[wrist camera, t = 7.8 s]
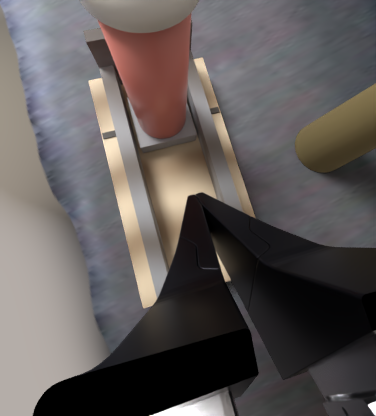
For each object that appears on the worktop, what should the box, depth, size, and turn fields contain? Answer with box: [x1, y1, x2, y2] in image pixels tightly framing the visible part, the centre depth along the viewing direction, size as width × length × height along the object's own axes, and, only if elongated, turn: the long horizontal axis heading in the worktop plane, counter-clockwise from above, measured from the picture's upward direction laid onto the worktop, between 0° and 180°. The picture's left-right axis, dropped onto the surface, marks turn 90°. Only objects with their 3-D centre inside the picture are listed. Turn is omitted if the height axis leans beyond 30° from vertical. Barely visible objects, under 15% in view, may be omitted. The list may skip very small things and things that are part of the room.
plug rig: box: [84, 20, 255, 308], centre depth 15 cm, size 22×12×6 cm, turn 16°
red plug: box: [80, 0, 199, 153], centre depth 11 cm, size 5×5×10 cm
